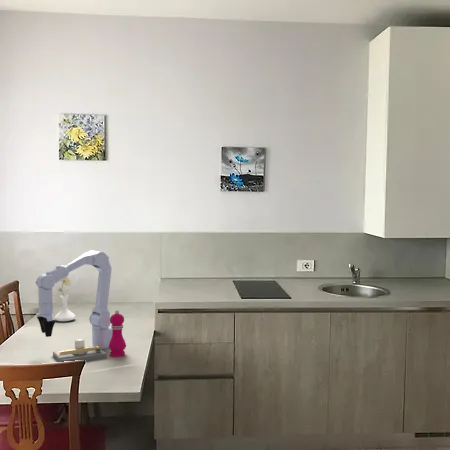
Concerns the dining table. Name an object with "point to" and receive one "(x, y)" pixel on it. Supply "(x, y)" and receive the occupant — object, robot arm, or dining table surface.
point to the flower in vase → (65, 305)
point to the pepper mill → (117, 336)
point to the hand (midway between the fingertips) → (46, 334)
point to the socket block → (80, 356)
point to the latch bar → (80, 350)
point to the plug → (79, 345)
